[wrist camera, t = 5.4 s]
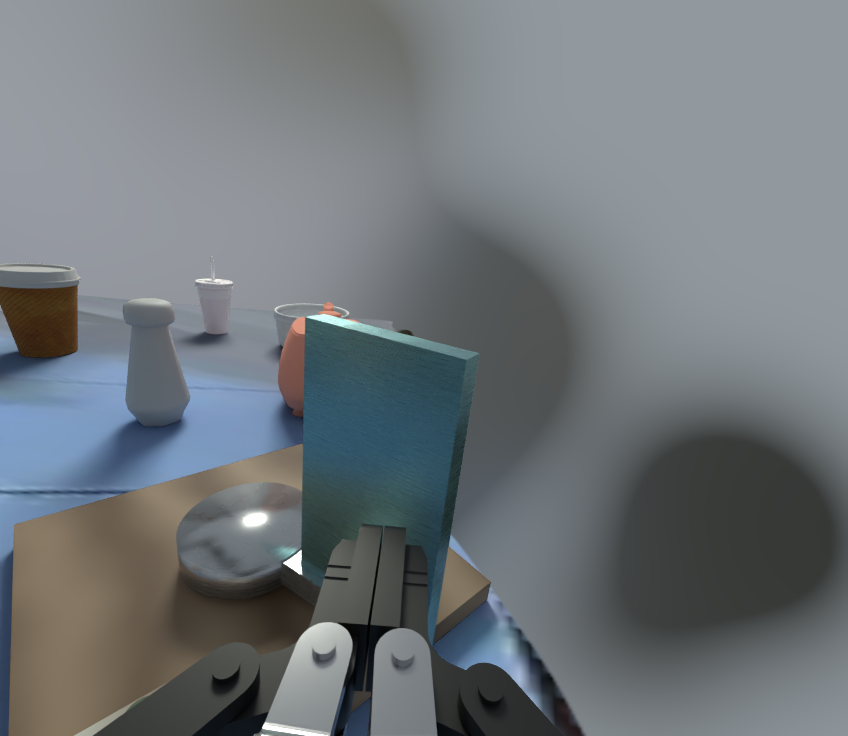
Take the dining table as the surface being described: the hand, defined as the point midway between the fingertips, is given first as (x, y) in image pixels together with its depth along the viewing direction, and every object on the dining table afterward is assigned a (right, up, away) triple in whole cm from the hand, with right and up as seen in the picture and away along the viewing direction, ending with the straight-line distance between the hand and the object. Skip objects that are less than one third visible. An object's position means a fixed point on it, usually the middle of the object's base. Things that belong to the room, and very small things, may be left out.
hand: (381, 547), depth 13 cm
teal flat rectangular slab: (-6, -7, +11) cm, 14 cm away
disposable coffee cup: (-54, +8, +46) cm, 71 cm away
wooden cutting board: (-10, -8, +13) cm, 18 cm away
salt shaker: (-27, 0, +31) cm, 41 cm away
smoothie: (-39, +13, +65) cm, 76 cm away
